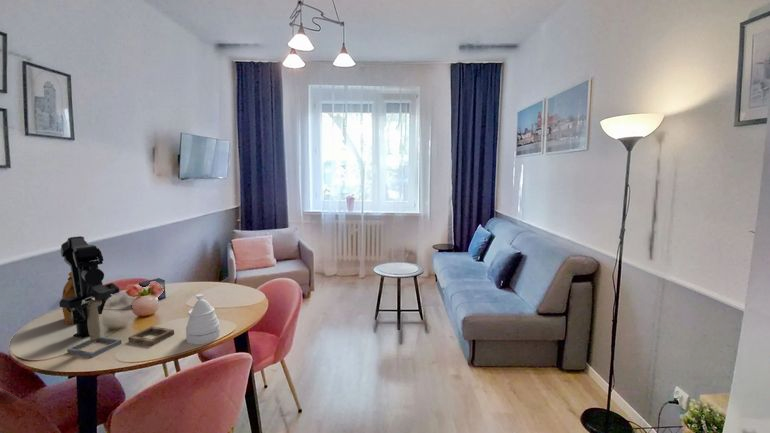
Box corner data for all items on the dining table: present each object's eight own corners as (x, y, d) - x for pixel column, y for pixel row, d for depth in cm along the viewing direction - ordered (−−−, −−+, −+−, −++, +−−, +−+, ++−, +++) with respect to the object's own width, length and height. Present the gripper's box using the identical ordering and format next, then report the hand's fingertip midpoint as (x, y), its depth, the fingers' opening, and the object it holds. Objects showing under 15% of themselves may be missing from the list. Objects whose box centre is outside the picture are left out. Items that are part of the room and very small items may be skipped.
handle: (103, 339, 143) (99, 303, 141) (83, 342, 141) (78, 305, 139) (107, 334, 147) (103, 299, 145) (87, 337, 145) (83, 301, 143)
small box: (145, 304, 190) (144, 284, 189) (139, 301, 194) (137, 282, 192) (166, 298, 199) (165, 279, 198) (160, 295, 203) (158, 277, 201)
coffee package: (61, 326, 163) (55, 279, 160) (65, 317, 173) (59, 272, 170) (89, 321, 169) (84, 275, 166) (91, 312, 179) (87, 269, 176)
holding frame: (67, 352, 140) (67, 349, 140) (98, 339, 152) (97, 335, 151) (92, 357, 137) (91, 353, 137) (121, 343, 148) (121, 339, 148)
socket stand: (128, 342, 149) (128, 337, 149) (152, 330, 160) (151, 326, 160) (151, 346, 146) (151, 341, 146) (174, 334, 157) (173, 329, 156)
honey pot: (182, 337, 154) (179, 296, 152) (213, 327, 163) (210, 289, 161) (193, 347, 145) (190, 304, 143) (225, 336, 155) (223, 296, 152)
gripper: (78, 288, 130) (83, 329, 132) (128, 273, 147) (131, 310, 150) (56, 285, 133) (60, 325, 135) (107, 271, 150) (110, 307, 152)
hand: (93, 316), depth 143 cm, fingers closed on handle, 5 cm apart
